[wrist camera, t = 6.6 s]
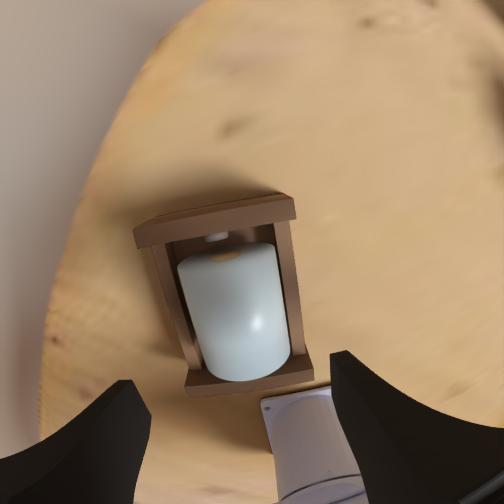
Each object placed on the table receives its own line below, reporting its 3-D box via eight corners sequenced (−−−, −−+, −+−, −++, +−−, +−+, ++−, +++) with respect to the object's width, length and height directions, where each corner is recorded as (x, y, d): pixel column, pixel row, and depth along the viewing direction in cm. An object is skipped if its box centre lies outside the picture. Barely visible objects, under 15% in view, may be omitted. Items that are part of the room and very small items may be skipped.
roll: (283, 326, 19) (297, 373, 14) (209, 338, 19) (202, 387, 14) (269, 234, 17) (281, 259, 12) (185, 250, 17) (166, 280, 12)
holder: (303, 345, 20) (314, 380, 16) (196, 362, 20) (189, 397, 17) (282, 192, 17) (293, 198, 13) (155, 217, 17) (132, 229, 14)
